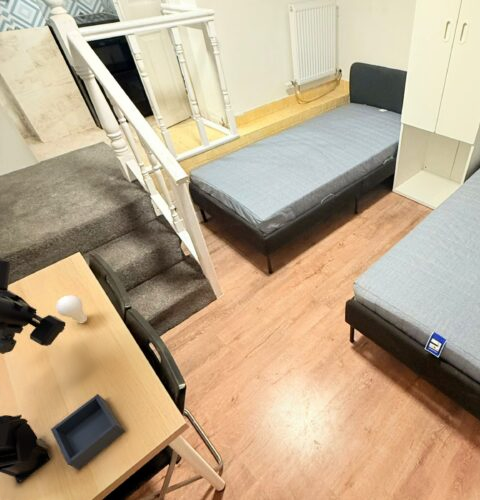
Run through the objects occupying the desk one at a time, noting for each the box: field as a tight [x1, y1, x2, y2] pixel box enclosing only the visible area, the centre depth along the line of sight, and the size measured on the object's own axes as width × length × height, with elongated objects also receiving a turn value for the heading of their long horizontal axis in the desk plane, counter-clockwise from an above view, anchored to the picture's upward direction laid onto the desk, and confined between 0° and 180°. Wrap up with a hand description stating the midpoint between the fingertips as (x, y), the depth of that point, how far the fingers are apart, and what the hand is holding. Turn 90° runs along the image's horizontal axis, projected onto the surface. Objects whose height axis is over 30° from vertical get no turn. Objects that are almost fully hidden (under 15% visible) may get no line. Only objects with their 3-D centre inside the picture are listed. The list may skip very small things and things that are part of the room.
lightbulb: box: [55, 294, 88, 324], centre depth 98 cm, size 6×6×11 cm
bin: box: [50, 393, 126, 471], centre depth 78 cm, size 11×11×5 cm
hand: (48, 322), depth 88 cm, fingers open, 9 cm apart
